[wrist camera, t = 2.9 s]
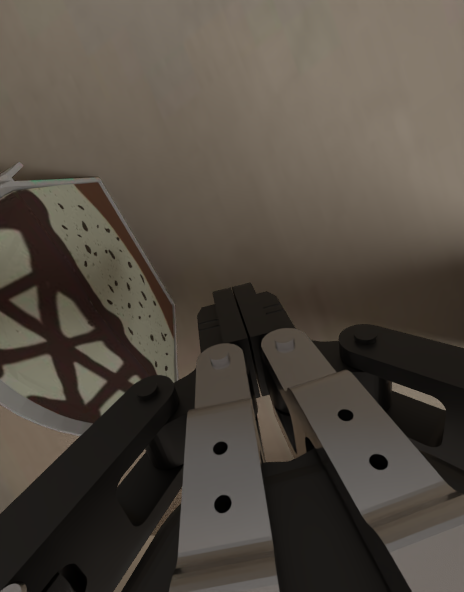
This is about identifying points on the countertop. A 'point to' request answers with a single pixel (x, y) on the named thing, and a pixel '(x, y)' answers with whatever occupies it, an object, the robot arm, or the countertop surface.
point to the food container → (75, 304)
